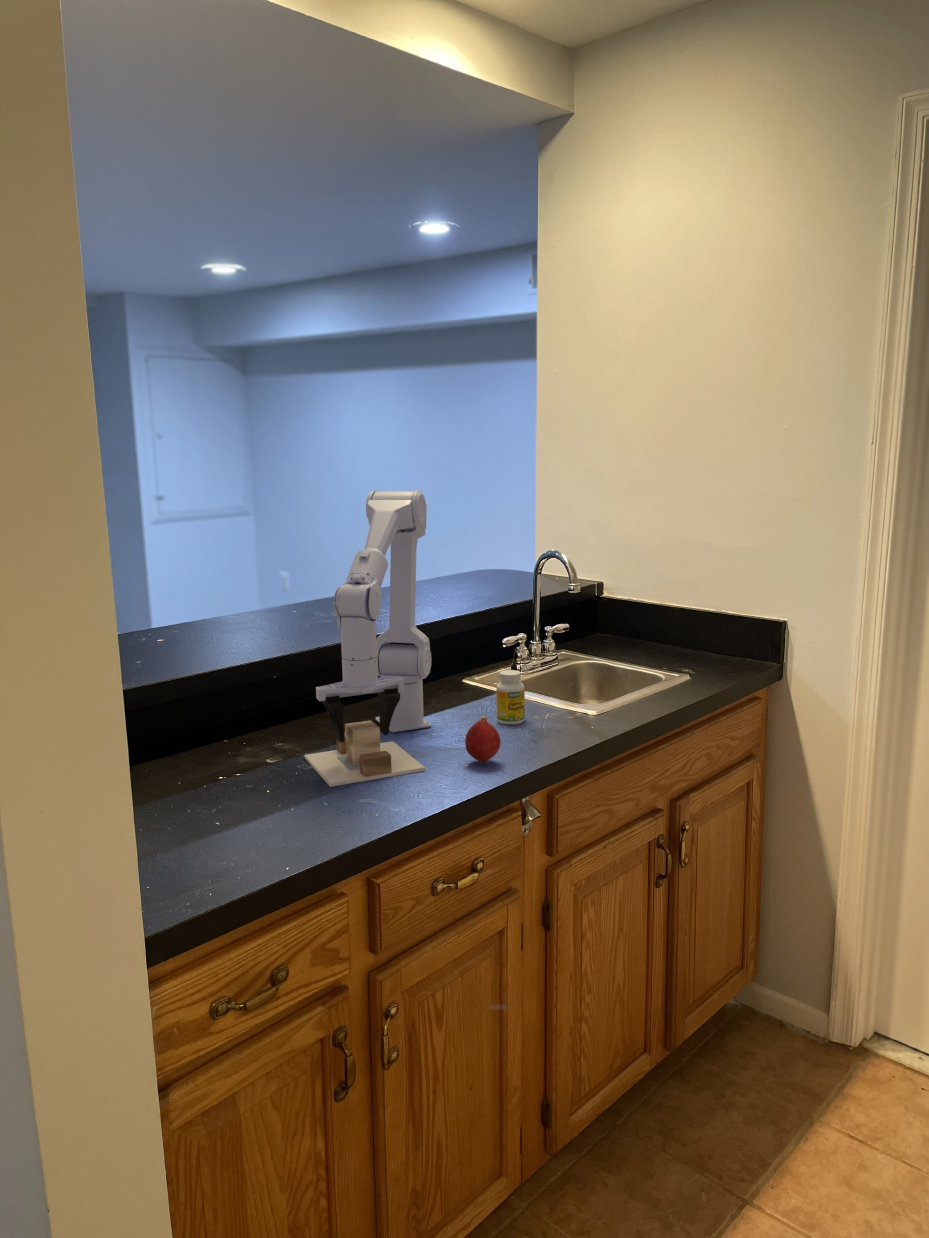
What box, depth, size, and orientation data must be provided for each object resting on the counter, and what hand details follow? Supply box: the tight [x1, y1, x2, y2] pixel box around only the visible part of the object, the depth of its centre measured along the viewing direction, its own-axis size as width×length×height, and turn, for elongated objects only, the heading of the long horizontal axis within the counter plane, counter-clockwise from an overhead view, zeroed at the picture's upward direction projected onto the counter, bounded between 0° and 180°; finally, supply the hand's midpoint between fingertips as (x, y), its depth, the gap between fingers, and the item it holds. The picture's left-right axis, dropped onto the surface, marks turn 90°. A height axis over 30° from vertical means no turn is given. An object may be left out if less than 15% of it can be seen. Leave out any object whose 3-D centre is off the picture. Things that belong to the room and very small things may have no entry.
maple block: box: [344, 720, 381, 767], centre depth 155 cm, size 4×4×6 cm
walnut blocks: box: [336, 731, 392, 777], centre depth 156 cm, size 15×4×3 cm, turn 25°
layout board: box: [304, 740, 426, 788], centre depth 156 cm, size 15×16×1 cm
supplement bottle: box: [496, 669, 526, 726], centre depth 178 cm, size 5×5×10 cm
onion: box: [464, 716, 502, 764], centre depth 155 cm, size 6×6×8 cm
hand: (362, 736), depth 155 cm, fingers open, 7 cm apart
